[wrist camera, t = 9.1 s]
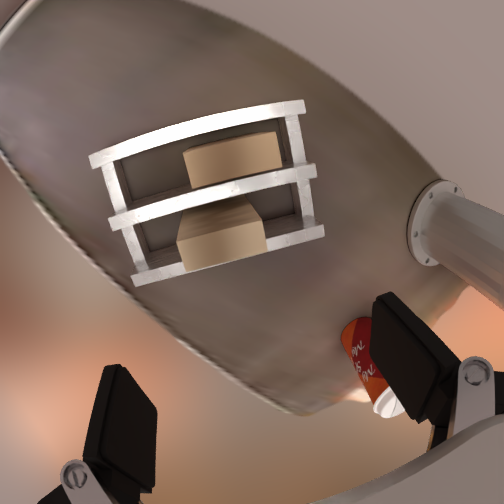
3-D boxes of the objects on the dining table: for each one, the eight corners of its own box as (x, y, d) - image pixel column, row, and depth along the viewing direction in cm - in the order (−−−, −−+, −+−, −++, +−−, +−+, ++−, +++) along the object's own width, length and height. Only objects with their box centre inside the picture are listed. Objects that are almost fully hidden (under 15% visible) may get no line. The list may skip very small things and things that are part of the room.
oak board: (251, 133, 25) (275, 131, 17) (256, 156, 26) (282, 167, 18) (189, 147, 24) (182, 153, 16) (195, 171, 25) (192, 188, 17)
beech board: (243, 193, 27) (262, 220, 19) (247, 215, 28) (268, 251, 20) (183, 208, 27) (176, 241, 18) (189, 230, 28) (186, 272, 19)
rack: (287, 104, 24) (303, 99, 20) (307, 221, 29) (324, 236, 25) (106, 152, 23) (88, 156, 19) (143, 264, 28) (135, 286, 24)
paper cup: (327, 330, 36) (373, 407, 24) (373, 301, 36) (431, 367, 23) (342, 359, 40) (381, 427, 27) (383, 333, 39) (431, 394, 27)
